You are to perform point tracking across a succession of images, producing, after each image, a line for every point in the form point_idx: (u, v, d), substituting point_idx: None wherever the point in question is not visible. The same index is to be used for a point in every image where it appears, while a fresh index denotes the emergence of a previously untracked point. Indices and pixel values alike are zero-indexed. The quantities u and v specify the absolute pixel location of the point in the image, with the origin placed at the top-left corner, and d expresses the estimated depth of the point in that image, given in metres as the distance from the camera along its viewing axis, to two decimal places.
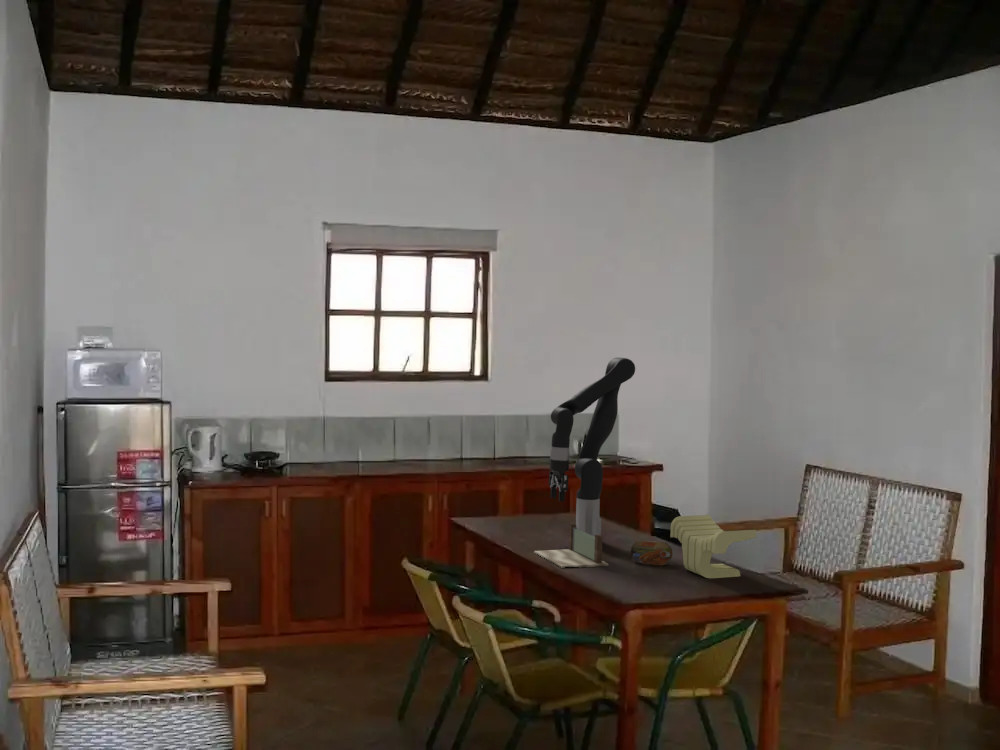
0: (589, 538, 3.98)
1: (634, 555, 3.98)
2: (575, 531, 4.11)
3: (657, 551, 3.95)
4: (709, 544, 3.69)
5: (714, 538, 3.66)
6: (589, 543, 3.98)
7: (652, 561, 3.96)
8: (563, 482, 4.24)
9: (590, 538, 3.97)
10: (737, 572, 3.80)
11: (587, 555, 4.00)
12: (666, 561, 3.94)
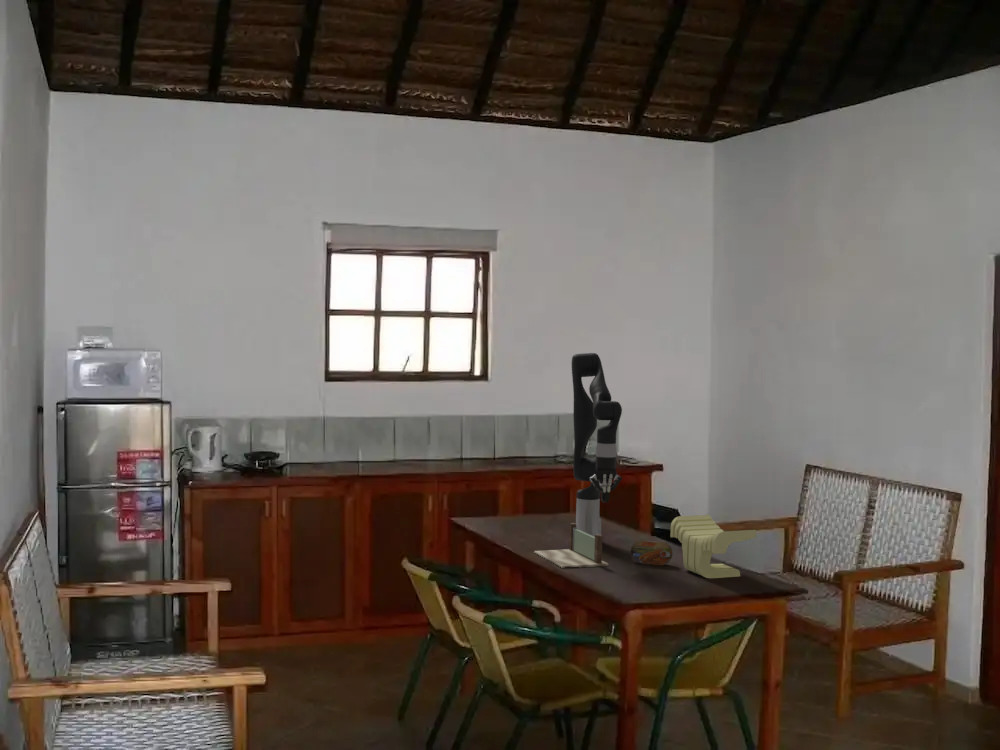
0: (589, 538, 3.98)
1: (634, 555, 3.98)
2: (575, 531, 4.11)
3: (657, 551, 3.95)
4: (709, 544, 3.69)
5: (714, 538, 3.66)
6: (589, 543, 3.98)
7: (652, 561, 3.96)
8: None
9: (590, 538, 3.97)
10: (737, 572, 3.80)
11: (587, 555, 4.00)
12: (666, 561, 3.94)
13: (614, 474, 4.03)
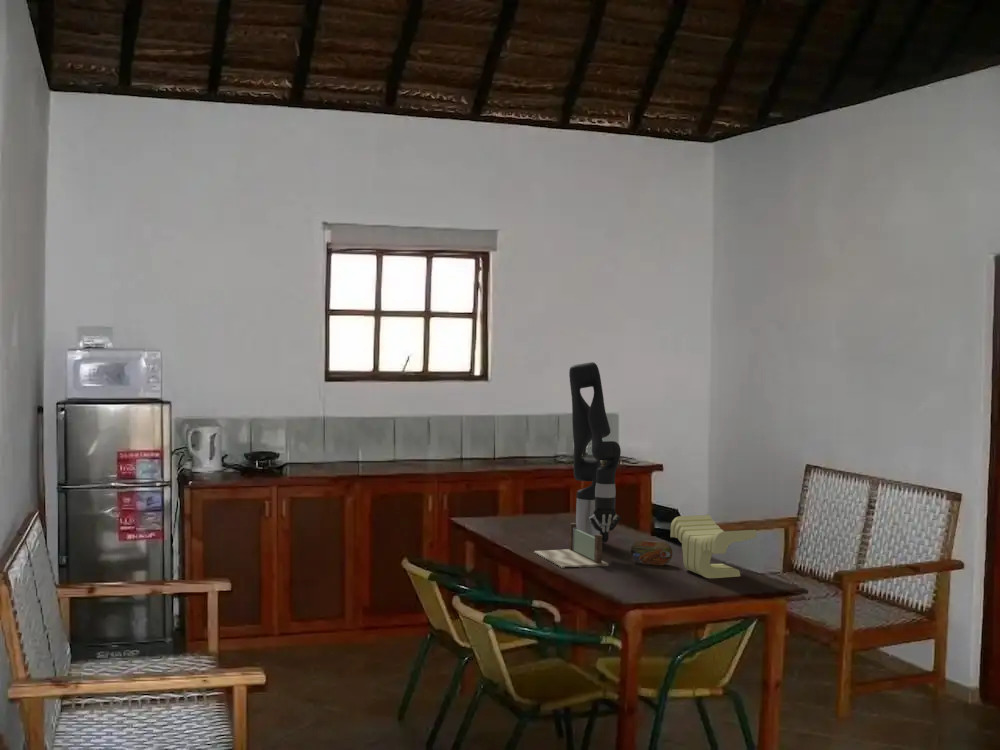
0: (589, 538, 3.98)
1: (634, 555, 3.98)
2: (575, 531, 4.11)
3: (657, 551, 3.95)
4: (709, 544, 3.69)
5: (714, 538, 3.66)
6: (589, 543, 3.98)
7: (652, 561, 3.96)
8: None
9: (590, 538, 3.97)
10: (737, 572, 3.80)
11: (587, 555, 4.00)
12: (666, 561, 3.94)
13: (613, 514, 4.04)
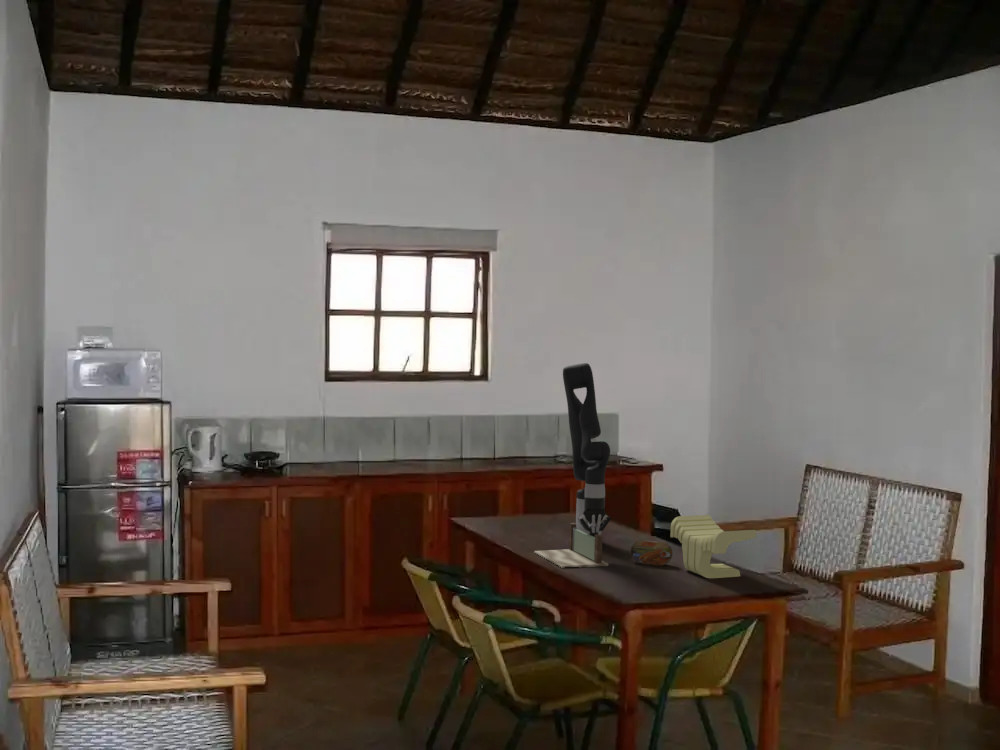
0: (589, 538, 3.98)
1: (634, 555, 3.98)
2: (575, 531, 4.11)
3: (657, 551, 3.95)
4: (709, 544, 3.69)
5: (714, 538, 3.66)
6: (588, 543, 3.98)
7: (652, 561, 3.96)
8: None
9: (590, 538, 3.97)
10: (737, 572, 3.80)
11: (587, 555, 4.00)
12: (666, 561, 3.94)
13: (603, 514, 4.03)
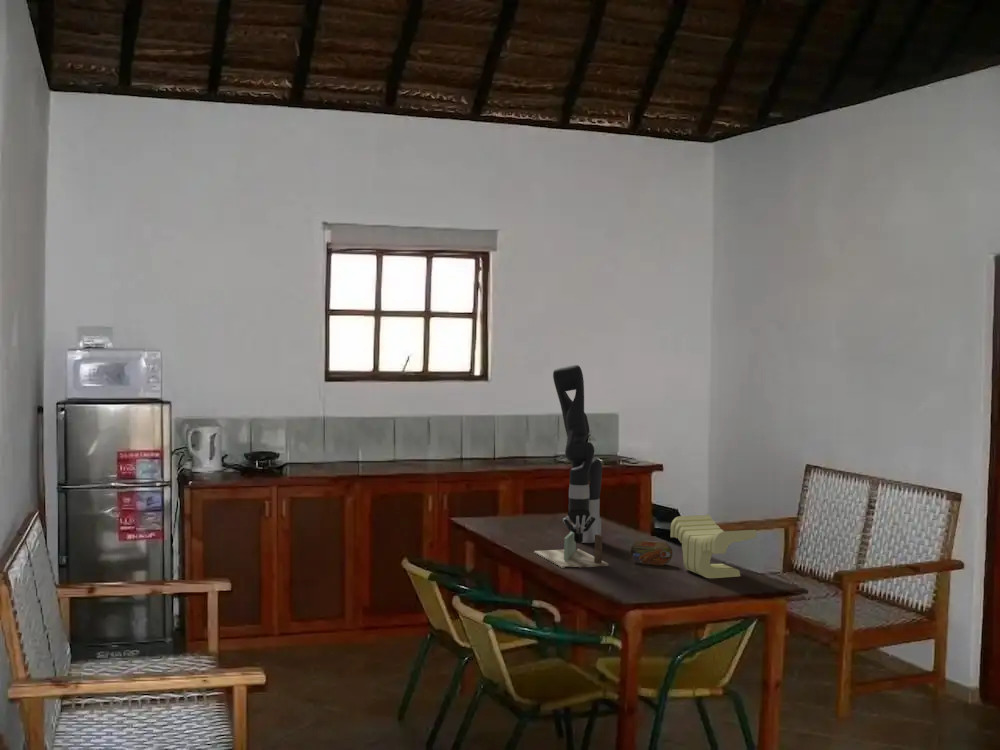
0: None
1: (634, 555, 3.98)
2: None
3: (657, 551, 3.95)
4: (709, 544, 3.69)
5: (714, 538, 3.66)
6: None
7: (652, 561, 3.96)
8: None
9: None
10: (737, 572, 3.80)
11: None
12: (666, 561, 3.94)
13: (587, 515, 4.01)
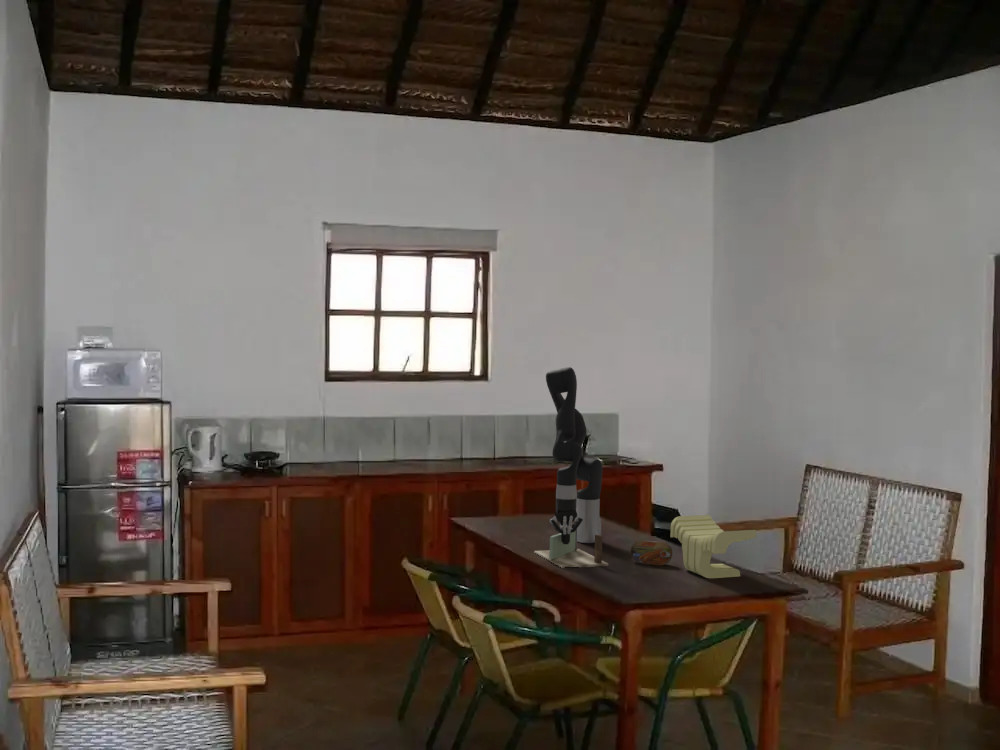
0: None
1: (634, 555, 3.98)
2: None
3: (657, 551, 3.95)
4: (709, 544, 3.69)
5: (714, 538, 3.66)
6: None
7: (652, 561, 3.96)
8: None
9: None
10: (737, 572, 3.80)
11: None
12: (666, 561, 3.94)
13: (574, 516, 3.99)
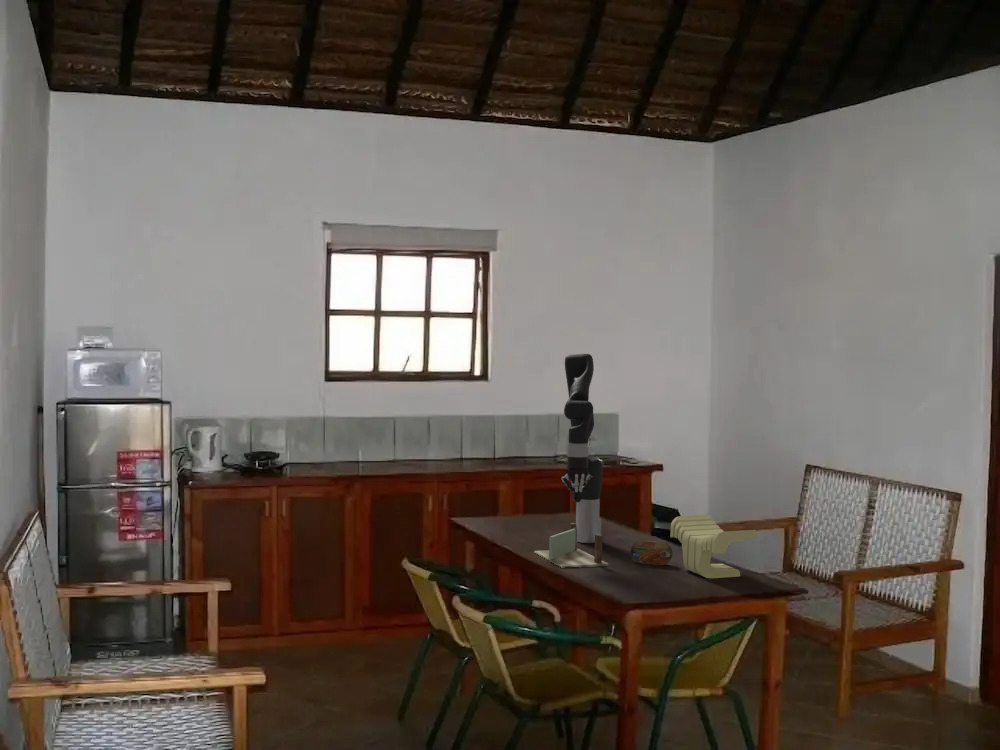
0: None
1: (634, 555, 3.98)
2: None
3: (657, 551, 3.95)
4: (709, 544, 3.69)
5: (714, 538, 3.66)
6: None
7: (652, 561, 3.96)
8: None
9: None
10: (737, 572, 3.80)
11: None
12: (666, 561, 3.94)
13: (586, 474, 4.02)
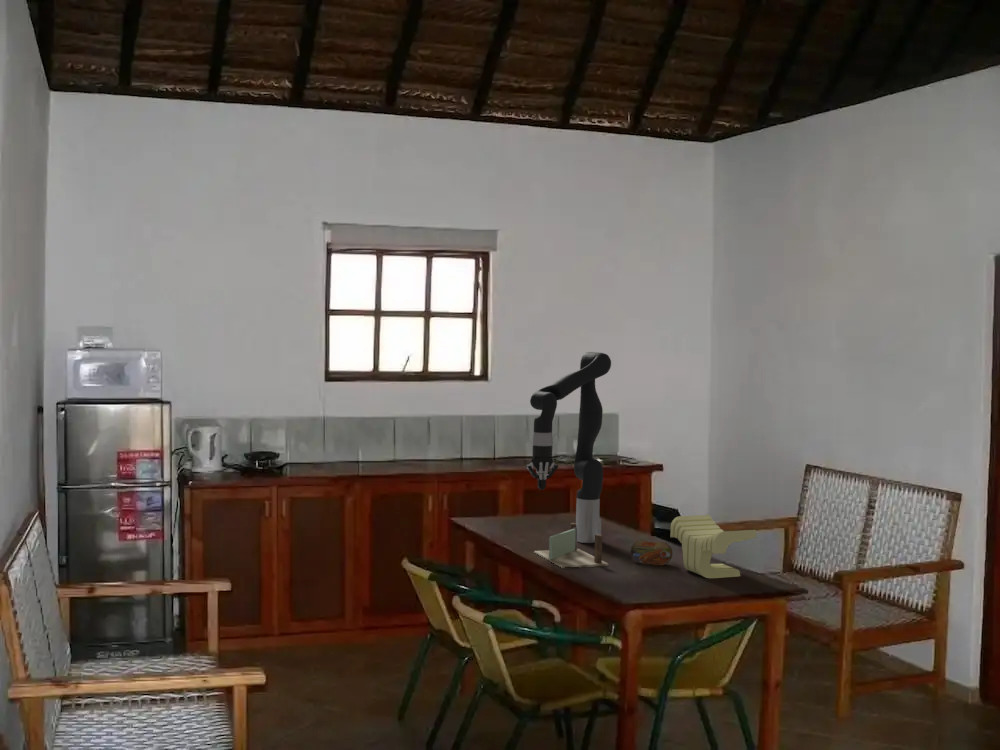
0: None
1: (634, 555, 3.98)
2: None
3: (657, 551, 3.95)
4: (709, 544, 3.69)
5: (714, 538, 3.66)
6: None
7: (652, 561, 3.96)
8: None
9: None
10: (737, 572, 3.80)
11: None
12: (666, 561, 3.94)
13: (550, 462, 4.17)
